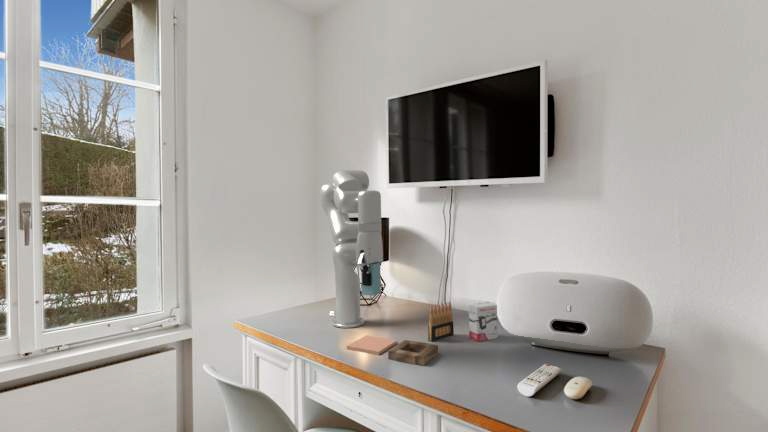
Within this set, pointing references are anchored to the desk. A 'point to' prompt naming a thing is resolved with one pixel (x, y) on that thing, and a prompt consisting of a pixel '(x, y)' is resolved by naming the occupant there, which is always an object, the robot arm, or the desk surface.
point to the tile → (372, 344)
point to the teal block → (373, 281)
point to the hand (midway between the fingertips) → (371, 283)
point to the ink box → (483, 321)
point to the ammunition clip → (440, 322)
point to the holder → (413, 352)
